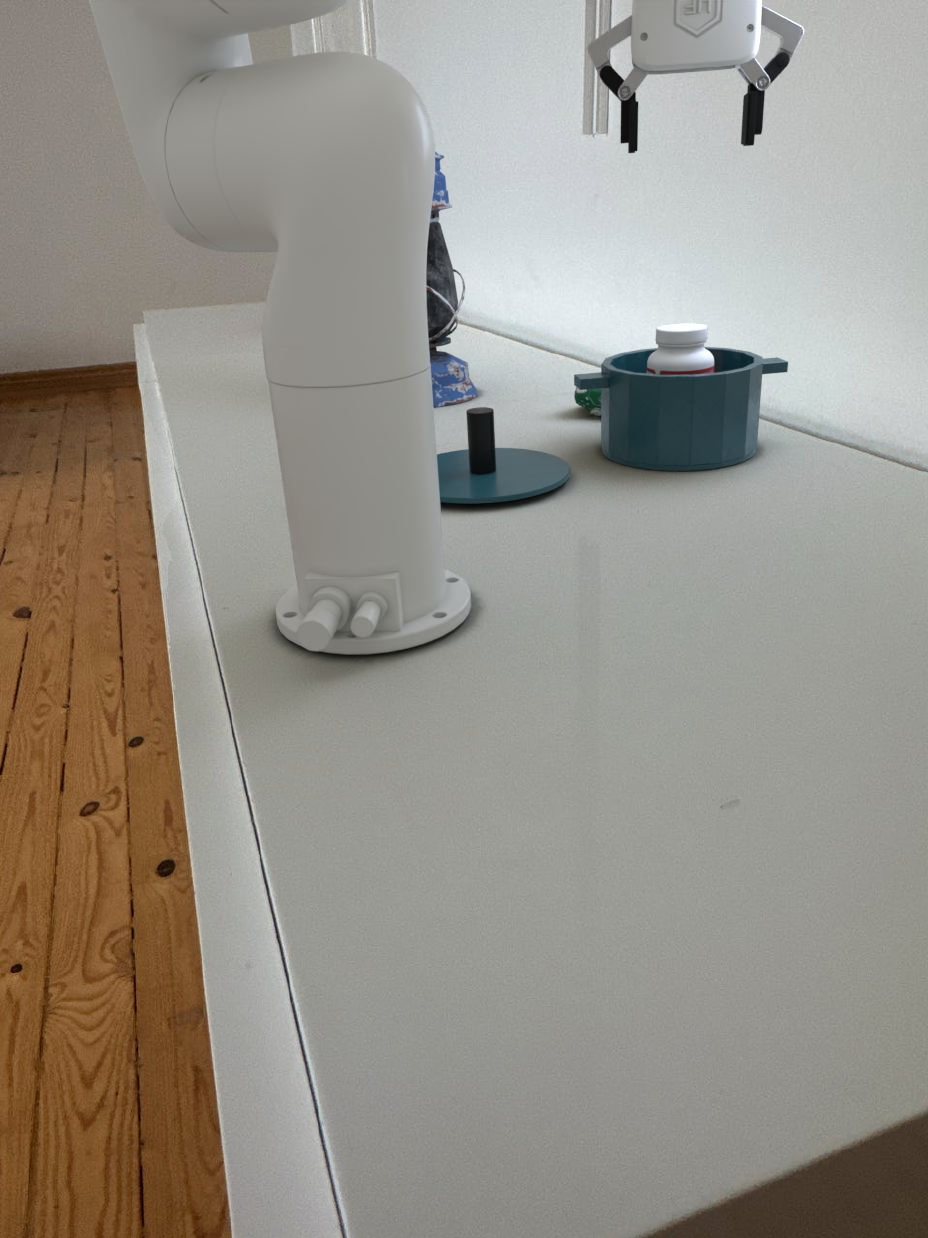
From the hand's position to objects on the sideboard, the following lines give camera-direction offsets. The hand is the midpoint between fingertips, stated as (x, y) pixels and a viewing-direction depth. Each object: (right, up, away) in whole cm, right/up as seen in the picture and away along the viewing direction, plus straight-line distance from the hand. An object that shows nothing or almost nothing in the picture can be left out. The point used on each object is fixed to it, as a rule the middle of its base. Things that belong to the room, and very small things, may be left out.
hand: (689, 149), depth 83 cm
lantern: (-24, -12, +39) cm, 48 cm away
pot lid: (-18, -27, +5) cm, 33 cm away
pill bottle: (+1, -24, +11) cm, 26 cm away
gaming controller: (-2, -18, +25) cm, 31 cm away
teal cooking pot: (+2, -24, +11) cm, 26 cm away
